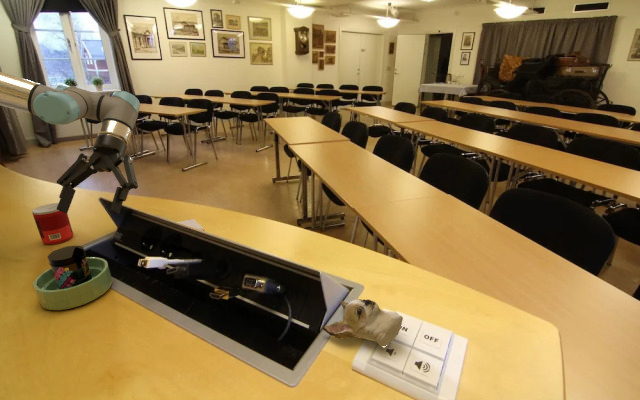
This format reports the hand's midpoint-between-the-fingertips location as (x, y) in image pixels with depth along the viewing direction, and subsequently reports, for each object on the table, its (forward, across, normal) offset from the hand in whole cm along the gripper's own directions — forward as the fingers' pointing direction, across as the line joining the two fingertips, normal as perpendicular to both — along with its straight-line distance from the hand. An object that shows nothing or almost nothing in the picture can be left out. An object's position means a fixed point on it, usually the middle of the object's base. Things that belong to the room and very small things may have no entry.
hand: (88, 211), depth 81 cm
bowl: (+19, 0, -5) cm, 20 cm away
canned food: (+1, +26, -23) cm, 35 cm away
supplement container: (+19, 0, -5) cm, 19 cm away
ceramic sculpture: (+27, -69, +3) cm, 74 cm away
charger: (+1, -17, -23) cm, 29 cm away
